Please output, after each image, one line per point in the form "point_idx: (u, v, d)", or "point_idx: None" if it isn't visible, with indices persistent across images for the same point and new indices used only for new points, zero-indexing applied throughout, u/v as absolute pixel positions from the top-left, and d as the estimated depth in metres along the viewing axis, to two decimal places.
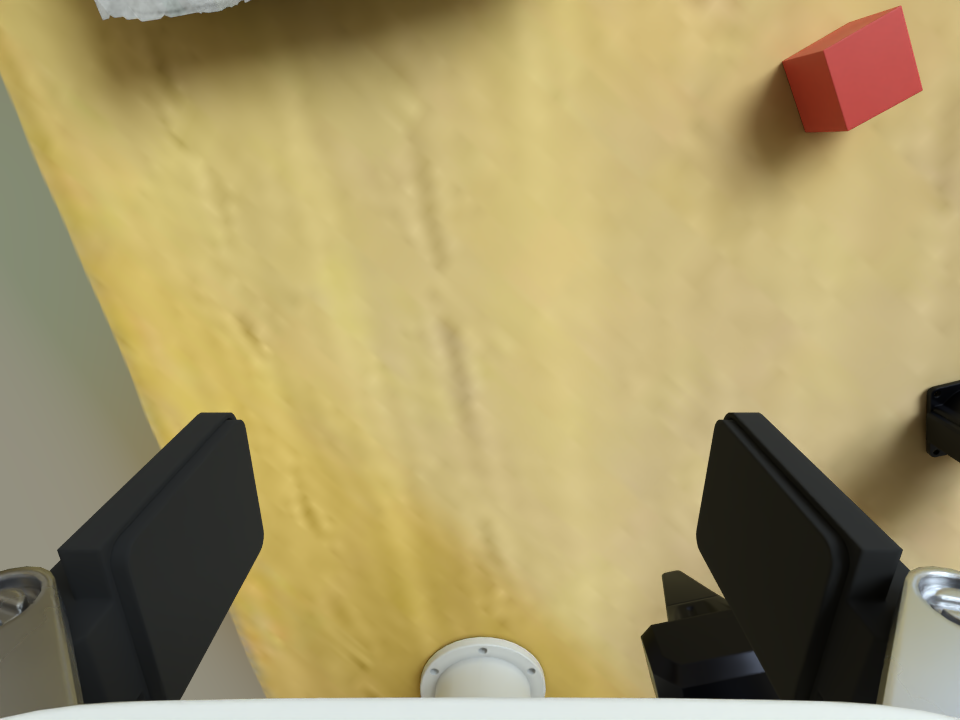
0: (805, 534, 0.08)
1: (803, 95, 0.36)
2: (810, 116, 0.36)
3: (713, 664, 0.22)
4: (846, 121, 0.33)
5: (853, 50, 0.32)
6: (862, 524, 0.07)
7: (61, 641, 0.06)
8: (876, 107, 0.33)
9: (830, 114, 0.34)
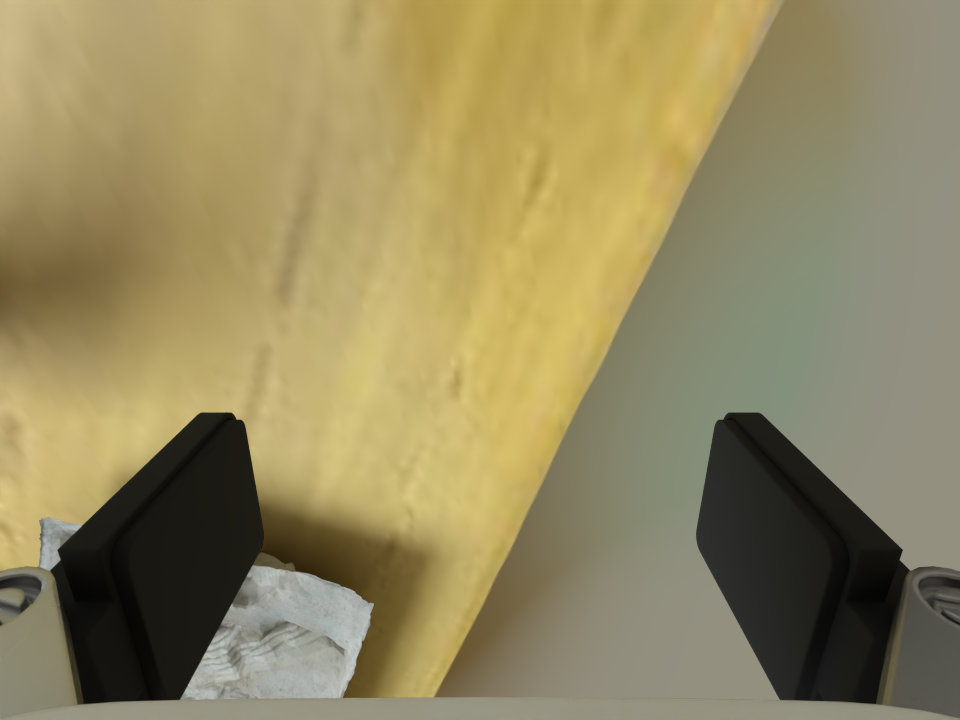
0: (805, 534, 0.08)
1: None
2: None
3: None
4: None
5: None
6: (862, 524, 0.07)
7: (61, 641, 0.06)
8: None
9: None
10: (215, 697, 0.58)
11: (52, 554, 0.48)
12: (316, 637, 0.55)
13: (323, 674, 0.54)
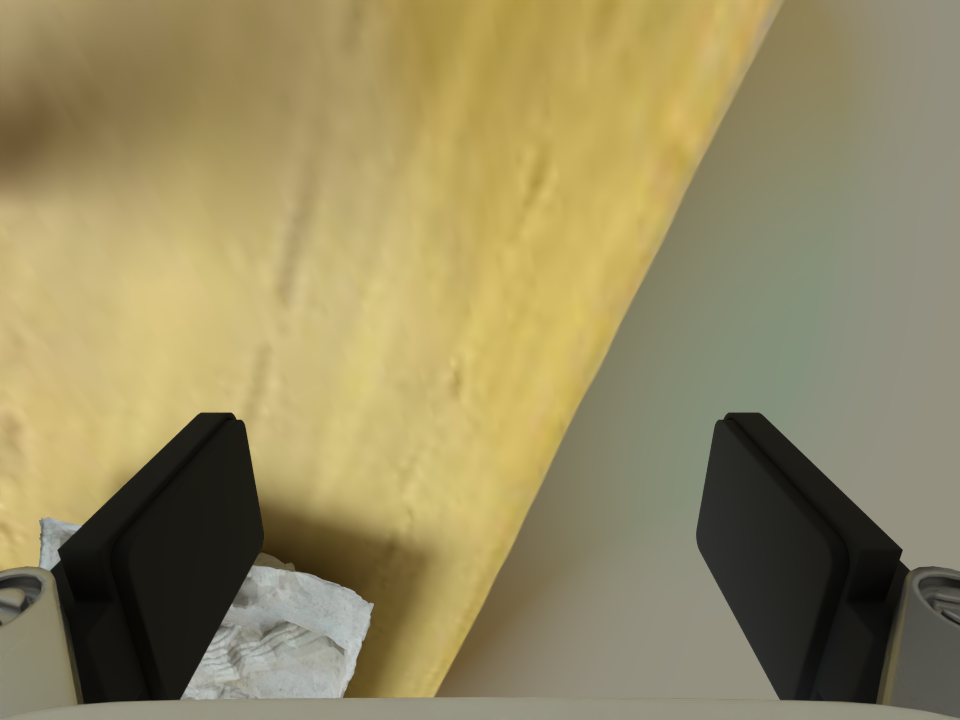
0: (805, 534, 0.08)
1: None
2: None
3: None
4: None
5: None
6: (862, 524, 0.07)
7: (61, 641, 0.06)
8: None
9: None
10: (215, 697, 0.58)
11: (52, 554, 0.48)
12: (316, 637, 0.55)
13: (323, 674, 0.54)
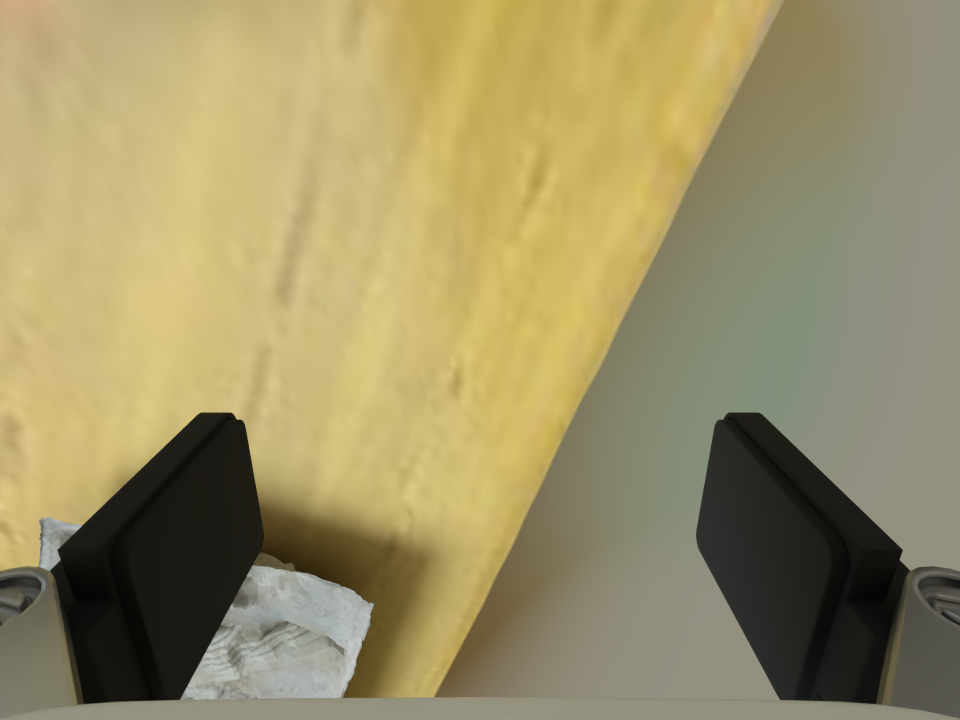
0: (805, 534, 0.08)
1: None
2: None
3: None
4: None
5: None
6: (862, 524, 0.07)
7: (61, 641, 0.06)
8: None
9: None
10: (215, 697, 0.58)
11: (52, 554, 0.48)
12: (316, 637, 0.55)
13: (323, 674, 0.54)
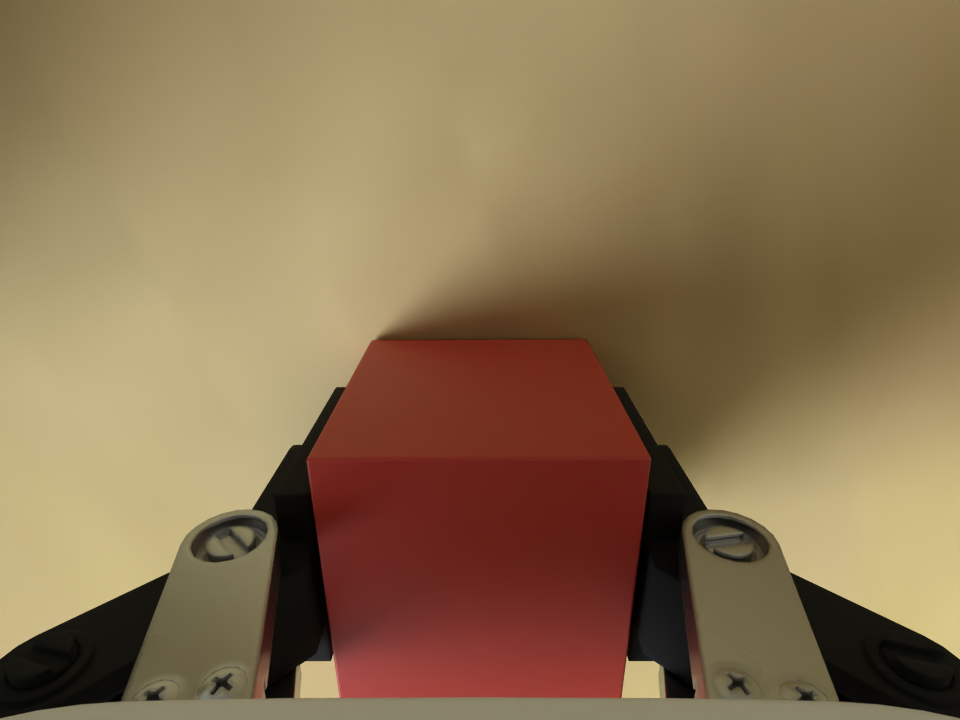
0: None
1: None
2: None
3: None
4: (638, 493, 0.07)
5: (526, 684, 0.09)
6: (663, 475, 0.08)
7: (265, 592, 0.06)
8: (506, 488, 0.07)
9: None
10: None
11: None
12: None
13: None
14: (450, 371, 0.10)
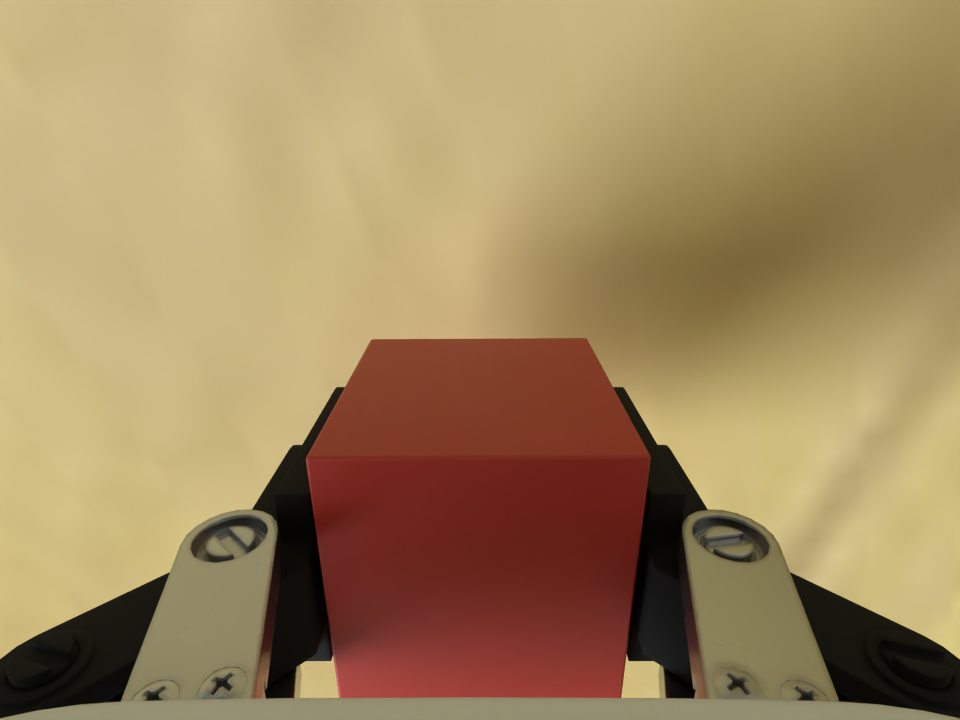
0: None
1: None
2: None
3: None
4: (638, 492, 0.07)
5: (526, 683, 0.09)
6: (663, 475, 0.08)
7: (265, 592, 0.06)
8: (505, 486, 0.07)
9: None
10: None
11: None
12: None
13: None
14: (450, 370, 0.10)
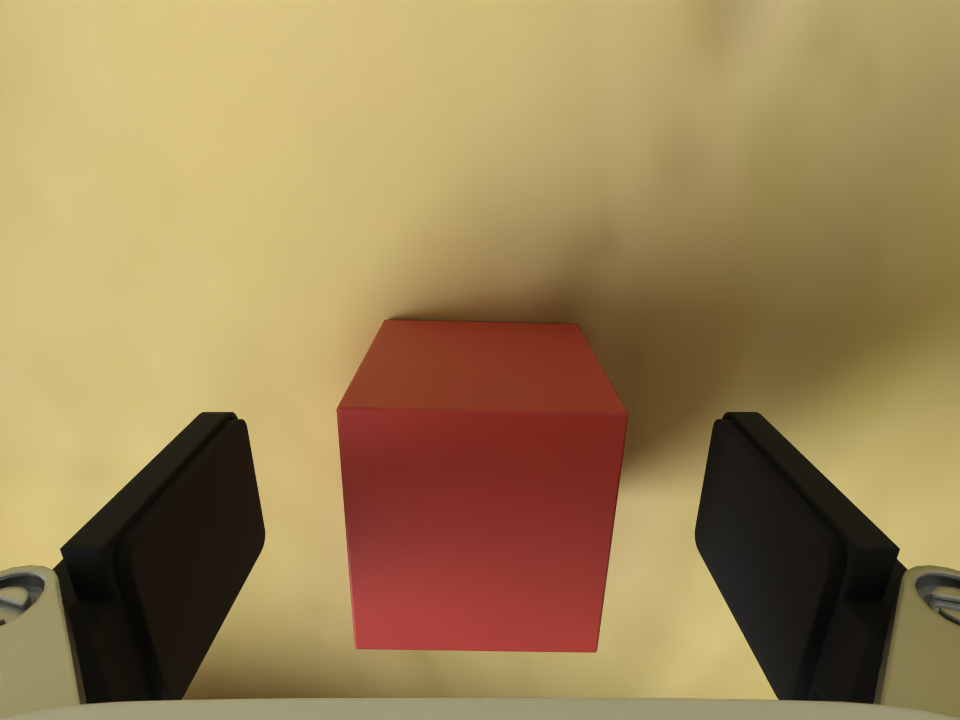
0: (803, 533, 0.08)
1: None
2: None
3: None
4: (617, 444, 0.09)
5: (517, 616, 0.10)
6: (860, 523, 0.07)
7: (64, 640, 0.06)
8: (505, 437, 0.09)
9: None
10: None
11: None
12: None
13: None
14: (457, 345, 0.11)
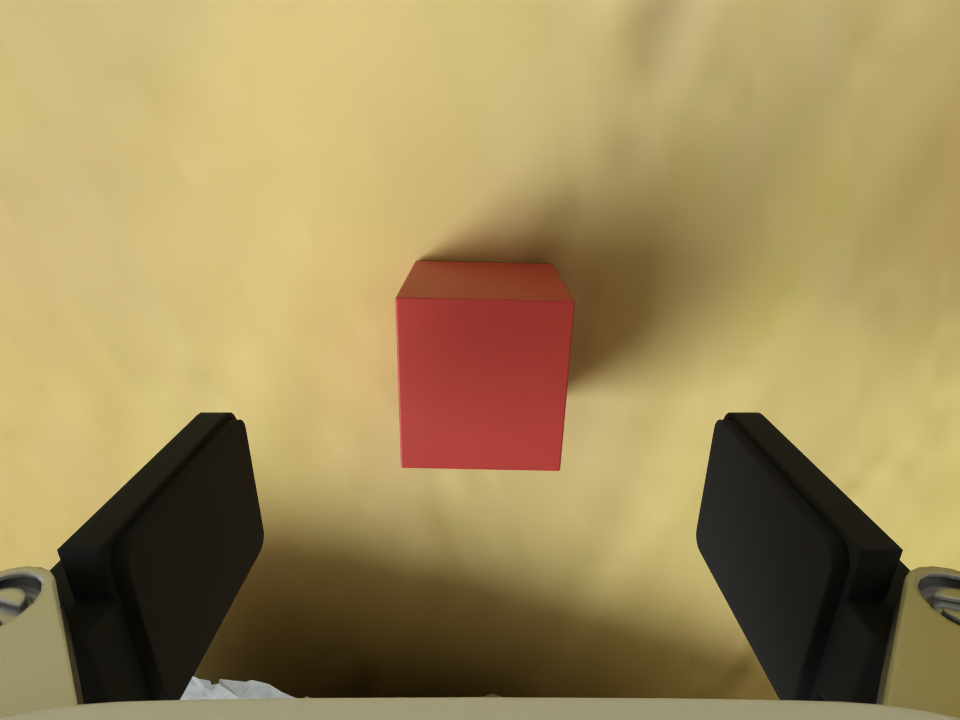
0: (805, 534, 0.08)
1: None
2: None
3: None
4: (568, 322, 0.14)
5: (507, 443, 0.15)
6: (862, 524, 0.07)
7: (61, 641, 0.06)
8: (499, 317, 0.14)
9: None
10: None
11: None
12: None
13: None
14: (467, 273, 0.16)
